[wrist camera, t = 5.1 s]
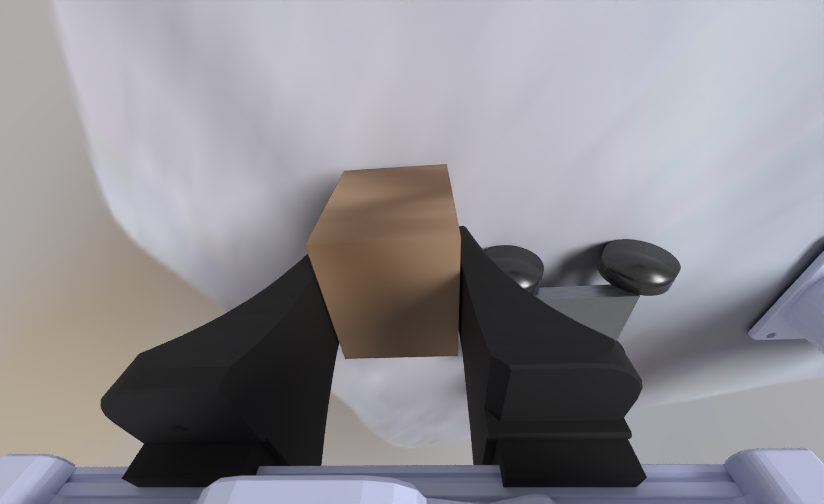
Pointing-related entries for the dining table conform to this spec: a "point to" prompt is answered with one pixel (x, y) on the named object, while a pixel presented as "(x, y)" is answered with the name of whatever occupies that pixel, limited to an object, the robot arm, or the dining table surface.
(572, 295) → the dolly
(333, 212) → the block
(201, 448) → the robot arm
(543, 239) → the dining table surface
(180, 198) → the dining table surface
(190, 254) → the dining table surface
